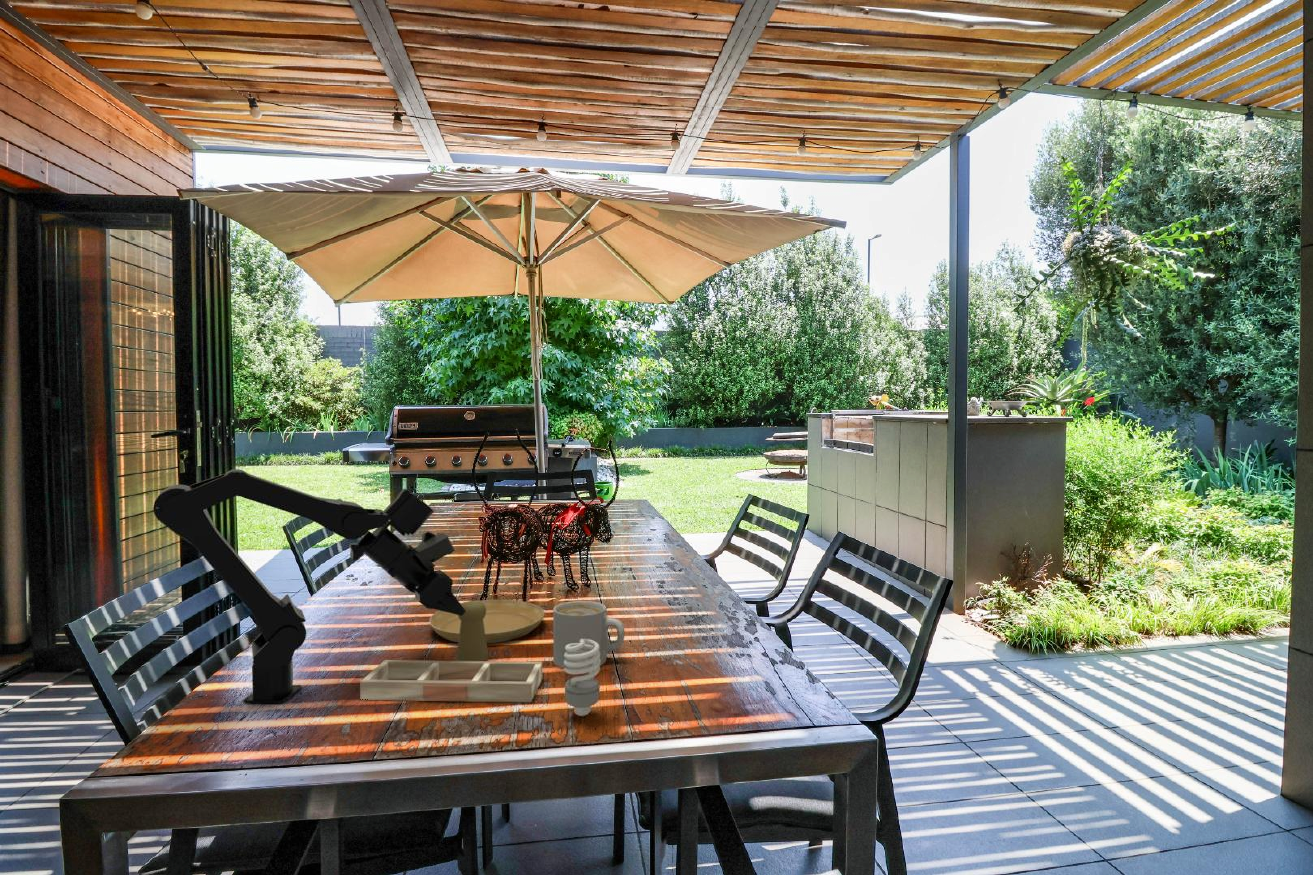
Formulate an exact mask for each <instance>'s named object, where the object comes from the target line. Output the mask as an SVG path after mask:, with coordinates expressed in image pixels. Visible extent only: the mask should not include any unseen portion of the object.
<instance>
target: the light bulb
mask: <svg viewBox="0 0 1313 875" xmlns="http://www.w3.org/2000/svg"><path fill="white" fill-rule="evenodd" d="M588 644H589V645H588ZM591 645H592V646H591ZM581 648H584V649H588V650H591V651H583V650H580V649H581ZM565 650H566V651H567V652H566V653H565V654H564V657H565V658H566V659H565V660H564V665H566V667H565V669H564V672H565V673H566V674H569V675H576V676H573V677H572V678H570V679H568V680H567V681H566V682H565V684H564V686H565V687H564V695H565V702H566V703H567V705H569V706H571V707H573V709H574V710H573V711H574V712H573V713H575V714H576V715H577V716H579V717H580V718H581V717H585V716H587V715H588V714H590V712H591V707H592V706H594V705H596V704H597V703H598V702H599V698H600V682H599V680H598V679H597V678H595V676H597V675H598V674H599V672H600V669H601V667H600V666H599V665H600V662H601V660H600V652H599V644H598V643H597V642H595V641H593V640H590V639H581V640H580V643H572V644H568V645H566V646H565ZM588 657H591V659H588ZM587 665H592V666H590V667H589V666H587ZM582 674H584V675H582ZM577 675H579V676H577Z"/></svg>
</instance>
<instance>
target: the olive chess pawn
mask: <svg viewBox="0 0 1313 875" xmlns="http://www.w3.org/2000/svg"><path fill="white" fill-rule="evenodd" d="M479 601H480V600H469V601H465V602H461V603H462V604H461V603H460V604H461V605H462V607H463V608H464V609H465V611H466V612H465V613H464V614H463V615H462V616H460V615H458V617H459V619H460V620H461V625H460V633H459V641H458V642H457V650H456V658H455V661H489V653H488V645H487V644H486V637H485V629H484V622H483V619H484V617H485V615H486V607H485V605H484V603H482V602H479Z"/></svg>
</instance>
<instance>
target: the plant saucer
mask: <svg viewBox="0 0 1313 875" xmlns="http://www.w3.org/2000/svg"><path fill="white" fill-rule="evenodd" d="M478 601H479V602H482V603H484V605H485V607H486V615H485V617H484V619H483V622H484V629H485V637H486V644H494V643H495V644H497V643H503V642H508V641H512V640H517V639H519V638H521V637H525V636H526V635H528V634H530V633H531V632H532V631H534V630H535V629H536V628H538V626H540V624H541V622H542V621H543V619H544V617H545V610H544V609H543V608H542V607H541V606H539V605H538V604H534V603H532V602H527V601H521V600H515V599H514V600H512V599H486V600H485V599H484V600H478ZM462 603H463V602H461V603H460V604H462ZM428 621H429V624H430V626H431V629H432V630H433V631H435V633H436V634H437V635H439V636H440V637H441V638H444V639H445V640H448V641H451V642H454V643H458V641H459V633H460V625H461V620H460V619H459V617H458V615H456V614H452V613H448V612H444V611H440V610H437V611H436V612H435V613H434V614H432V615H431V616H430V618H429V620H428Z"/></svg>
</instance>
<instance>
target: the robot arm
mask: <svg viewBox="0 0 1313 875" xmlns="http://www.w3.org/2000/svg"><path fill="white" fill-rule="evenodd" d="M235 497H240V498H243V499H247V500H249V501H253V502H256V503H259V504H262V505H264V506H265V505H266V506H269V507H272V508H275V509H278V510H281V511H283V512H287V513H289V514H293V515H296V516H299V517H302V518H305V519H308V520H311V521H313V522H314V523H316V524H318V525H320V526H321V527H324V529H327V530H328V531H331V532H332V533H334V534H336V535H338V536H340V537H342V538H344V539H345V540H351V541H352V540H353V541H354V540H358V539H359V540H358V541H357V542H350V543H349V544H348V545H349V548H350V551H349V552H350V553H349V556H350V559H352V560H353V561H354V562H355V561H356V562H357V561H358V560H359V559H360V558H361V556H362V555H363V554H364V555H365V556H367V557H368V559H370V560H371V561H372V562H374V563H375V564H377V565H378V567H380V568H381V569H382V570H384V571H385V573H387V574H388V575H389V576H390V577H392V578H394V580H396V581H397V582H398V583H399V584H400V585H401V586H403V587H404V589H406V590H408V591H409V592H411V593H414V598H415V599H416V601H417V602H419V604H421V605H423V606H424V607H425V608H426V609H429V610H436V611H444V612H448V613H452V614H456V615H460V616H462V615H463V614H464V613H465V612H466V611H465V609H464V608H463V607H462V605H461V603H460V601H459V600H458V598H457V597H456V595H455V594H454V593H453V592H452V588H453V585H454V581H453V579H452V578H451V577H450V576H448V574H446V573H445V572H444V571H442V570H440V569H436V570H435V567H436V565H435V564H434V563H435V562H436V561H437V562H438V561H439V560H440V559H442V558H445V556H448V555H451V554H452V553H454V552H455V551H456V550H455V548H454V545H453V544H452V542H451V540H450V538H449V536H448V535H447V534H445V533H443V532H438V533H436V534H435V533H433V532H431V531H430V530H428V531H426V532H424V533H422V534H421V542H420V543H419V545H418V546H415V547H413V546H412V545H411V544H407V543H406V542H405V541H403V540H402V539H401V538H400V537H398V536H397V535H396V534H395V533H394V532H392V530H390V529H389V528H388V527H391V528H393V529H394V530H395V531H397V533H398V534H400V535H401V536H402V537H405V536H406V535H407V536H414V534H415V533H416V532H418V530H419V529H420V528H422V526H423V525H424V524H425V522H427V521H428V519H429V518H431V516H432V515H433V514H434V513H435V511H434V509H432V508H431V506H429V505H428V504H427V503H426V502H425V501H423V500H422V499H419V498H418V497H417V496H415V495H414V494H413V493H412V492H410V491H409V490H408V489H406V488H402V490H400V491H399V493H398V494H397V495H396V498H395V499H393V500H392V502H390V504H388V505H387V507H385V509H384V510H382V509H379V508H364V507H363V506H361V504H358V503H357V502H353V501H347V500H346V501H345V500H340V499H332V498H327V497H326V498H324V497H318V496H314V495H312V494H309V493H306V492H303V491H300V490H298V489H293V488H291V487H289V486H285V485H282V484H279V483H276V482H273V481H272V480H267V479H265V478H262V477H259V476H256V475H254V474H251V473H248V472H246V471H245V470H243V469H239V468H235V469H230V470H228V471H227V472H226V473H223V474H221V475H218V476H215V477H211V478H208V479H205V480H202V481H199V482H196V483H193V484H191V485H186V484H173V485H171V486H168V487H166V488H165V489H163V490H162V491H161V492H160V493H159V494H158V496H157V497H156V498H155V500H154V502H153V503H154V504H153V509H152V511H153V513H154V516H155V518H156V519H157V520H158V521H159V522H160V523H161V524H162V525H164V526H165V528H167V529H169V530H170V531H172V532H173V533H174V534H175V535H177V536H178V537H180V538H182V539H183V540H184V541H186V542H188V544H190V545H192V546H193V547H194V548H195V549H196V550H197V551H198V552H199V554H201V555H200V556H202V557H203V558H204V560H205V561H206V562H207V563H208V564H209V566H211V568H212V569H213V570H214V571H215V572H216V574H218V576H219V577H220V578H221V579H222V580H223V581H224V583H225V584H226V585H227V586H228V587H229V588H230V590H231V591H233V593H234V594H235V596H236V597H238V599H239V600H240V601H241V602H242V603H243V605H244V606H245V607H246V608H247V609H248V610H249V612H251V614H252V617H253V618H254V621H255V622H256V624H257V626H258V628H259V631H260V632H261V633H260V634H258V636H256V637H255V639H253V641H251V653H252V660H253V661H252V664H251V675H252V676H251V678H252V680H251V681H252V687H251V688H252V693H250V694H249V695H247V696H246V697H244V698H243V701H242V702H243V703H246V704H282V703H284V702H286V701H288V699H290V698H291V697H292V696H294V695H295V694H296V693H297V692H299V691H301V689H302V688H303V686H302V685H301V684H293V683H294V670H293V668H294V667H293V666H294V665H293V656H294V654H295V651H297V650H298V649H300V647H302V646H303V644H304V643H305V640H306V637H307V629H306V626H305V622H306V618H305V617H306V616H305V615H304V612H303V610H302V609H301V608H299V607H298V606H296V605H295V604H294V603H293V601H292V599H291V597H290V595H289V594H285V595H284V596H283V597H282V598H281V599H280V598H279V597H278V596H276V595H274V594H273V593H271V591H269V589H268V588H267V587H266V586H265V584H264V583H263V582H262V581H261V580H260V579H259V578H258V576H257V575H256V574H255V572H254V571H253V570H252V569H251V568H250V567H249V566H248V565H247V564H246V562H245V561H244V560H243V558H242V557H241V556H240V555H239V554H238V553H237V552H236V550H235V548H233V547H232V546H231V545H230V543H229V542H228V541H227V539H226V538H225V537H224V536H223V535H222V533H220V531H219V530H218V528H216V526H215V524H214V521H213V519H212V517H211V515H210V513H209V510H207V509H209V508H212V507H214V506H217V505H218V504H221V503H223V502H225V501H227V500H230V499H233V498H235ZM371 530H373V531H372V532H371Z"/></svg>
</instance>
